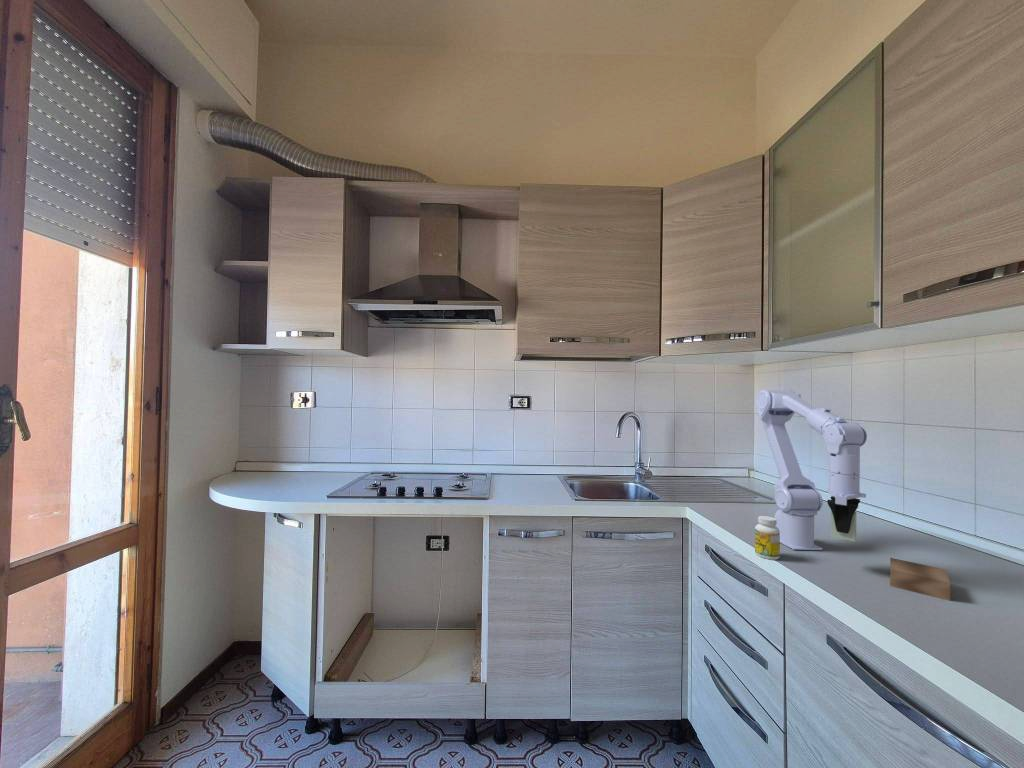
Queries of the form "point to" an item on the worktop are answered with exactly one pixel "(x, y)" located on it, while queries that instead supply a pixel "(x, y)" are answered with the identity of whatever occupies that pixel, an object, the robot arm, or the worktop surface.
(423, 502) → the worktop surface
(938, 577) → the walnut block
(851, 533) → the sage brick
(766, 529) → the supplement bottle
